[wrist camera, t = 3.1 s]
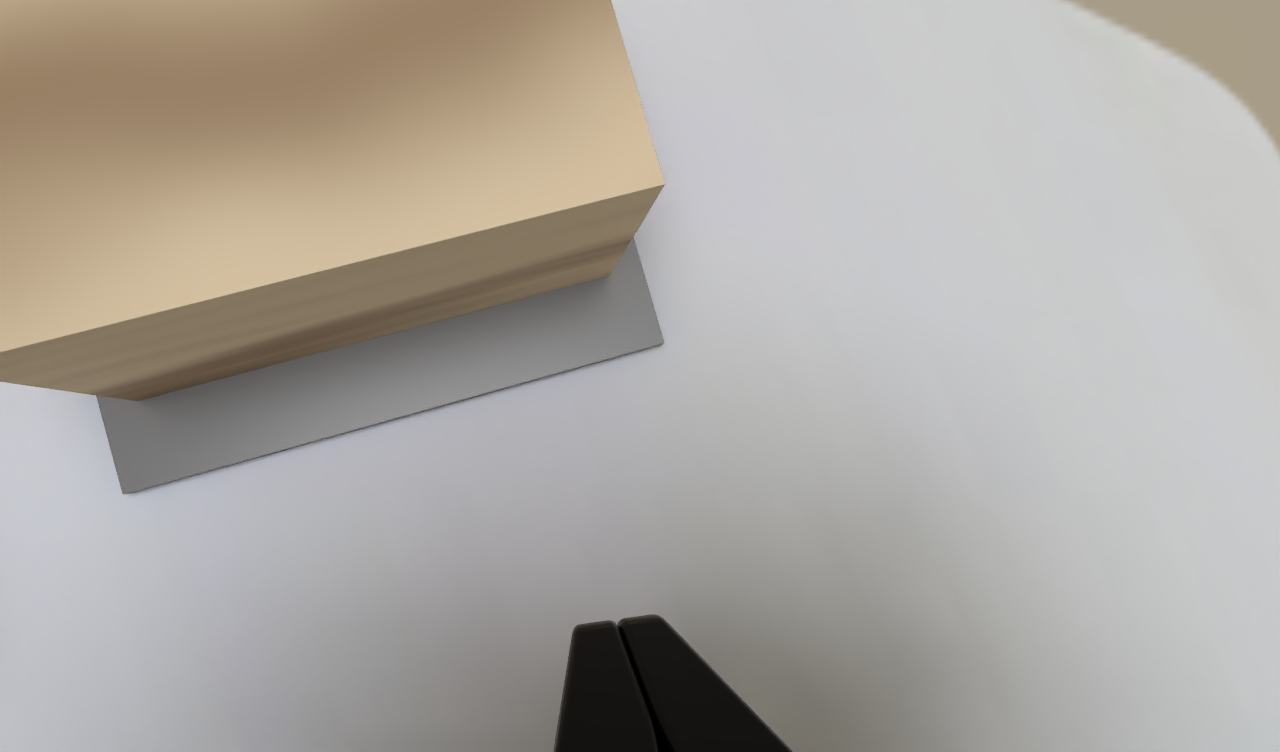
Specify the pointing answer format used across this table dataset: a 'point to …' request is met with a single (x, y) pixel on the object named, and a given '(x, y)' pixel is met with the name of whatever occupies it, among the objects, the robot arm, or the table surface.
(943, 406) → the table surface
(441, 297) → the pine block
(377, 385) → the gray board
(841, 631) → the table surface
